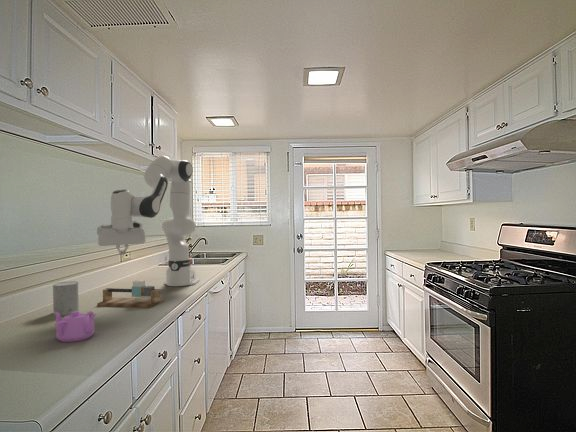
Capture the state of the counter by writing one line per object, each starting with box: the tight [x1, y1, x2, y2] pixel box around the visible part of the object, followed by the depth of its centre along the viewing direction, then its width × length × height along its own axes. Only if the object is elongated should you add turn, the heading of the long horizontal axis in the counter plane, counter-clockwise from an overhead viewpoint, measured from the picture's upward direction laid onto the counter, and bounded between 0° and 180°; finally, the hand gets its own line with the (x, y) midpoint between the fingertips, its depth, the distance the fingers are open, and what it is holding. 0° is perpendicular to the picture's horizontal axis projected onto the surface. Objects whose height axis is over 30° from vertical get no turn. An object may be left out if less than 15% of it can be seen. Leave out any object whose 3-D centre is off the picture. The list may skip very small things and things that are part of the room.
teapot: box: [53, 310, 97, 343], centre depth 134 cm, size 12×14×9 cm
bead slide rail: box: [105, 285, 156, 297], centre depth 183 cm, size 25×4×4 cm, turn 80°
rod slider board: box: [96, 288, 165, 309], centre depth 183 cm, size 26×12×6 cm, turn 80°
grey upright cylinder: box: [52, 281, 80, 316], centre depth 169 cm, size 10×10×12 cm
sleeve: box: [131, 279, 147, 298], centre depth 182 cm, size 4×4×7 cm
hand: (122, 254), depth 184 cm, fingers closed
